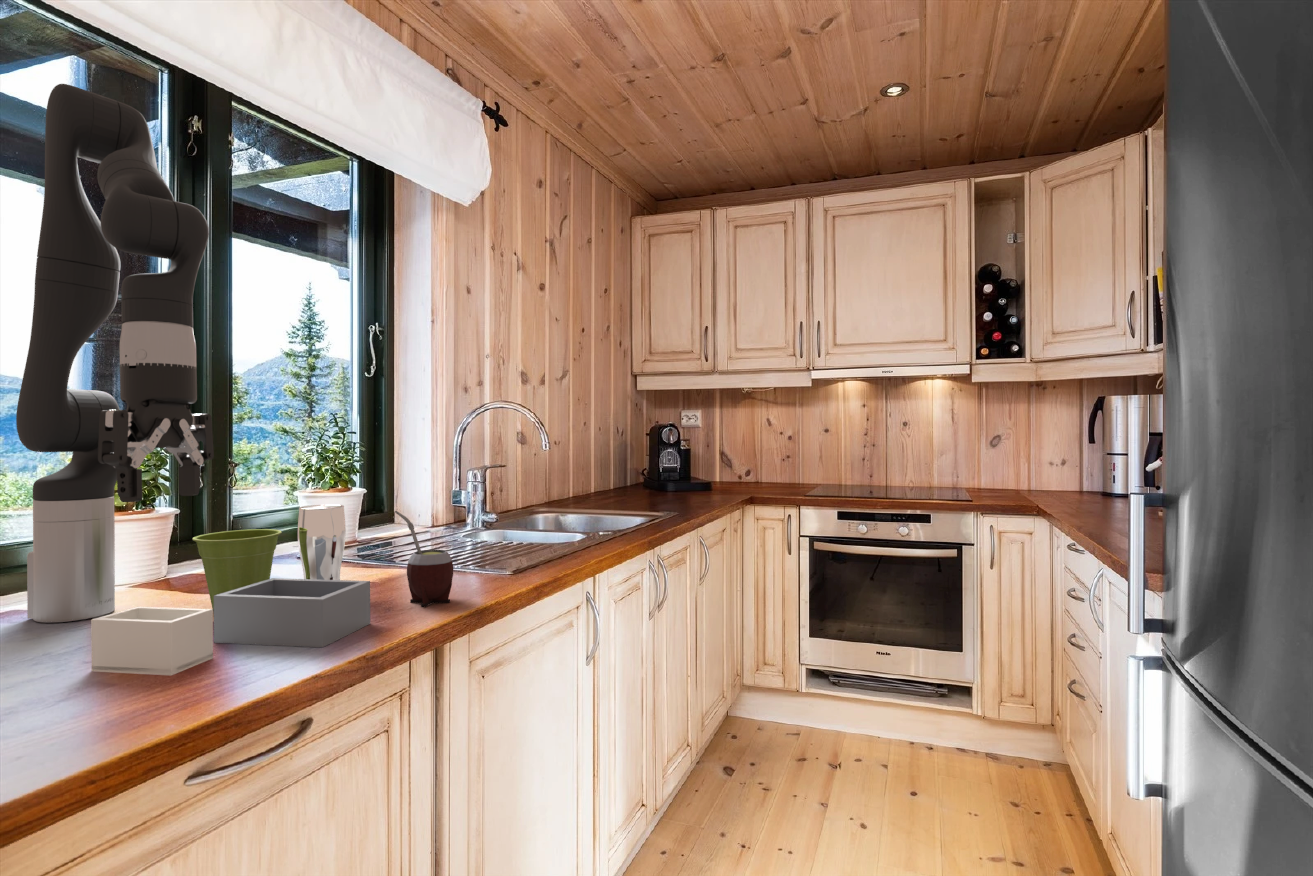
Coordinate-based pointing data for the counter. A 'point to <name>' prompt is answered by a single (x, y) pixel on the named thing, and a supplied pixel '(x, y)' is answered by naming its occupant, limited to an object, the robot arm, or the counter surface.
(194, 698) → the counter surface
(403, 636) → the counter surface
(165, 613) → the white crate
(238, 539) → the plant pot
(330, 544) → the beer glass
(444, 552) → the mate gourd
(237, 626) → the slate crate
